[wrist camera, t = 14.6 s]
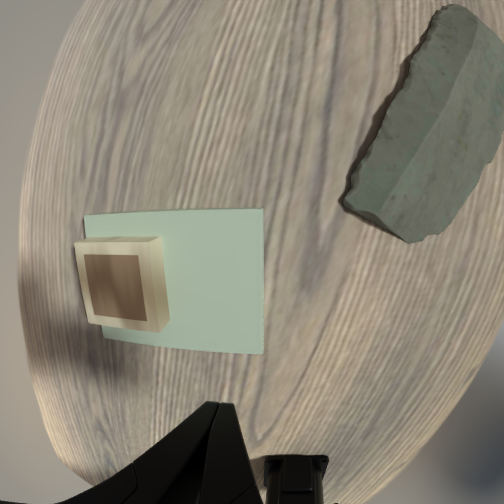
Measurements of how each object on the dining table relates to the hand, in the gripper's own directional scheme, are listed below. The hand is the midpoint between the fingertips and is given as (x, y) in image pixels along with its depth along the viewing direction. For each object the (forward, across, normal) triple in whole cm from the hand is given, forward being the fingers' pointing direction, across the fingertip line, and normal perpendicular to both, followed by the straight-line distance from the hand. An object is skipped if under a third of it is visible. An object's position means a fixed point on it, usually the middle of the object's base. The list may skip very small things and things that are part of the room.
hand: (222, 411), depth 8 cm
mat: (+12, +6, 0) cm, 13 cm away
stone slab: (+13, -15, -13) cm, 23 cm away
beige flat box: (+10, +6, 0) cm, 12 cm away
